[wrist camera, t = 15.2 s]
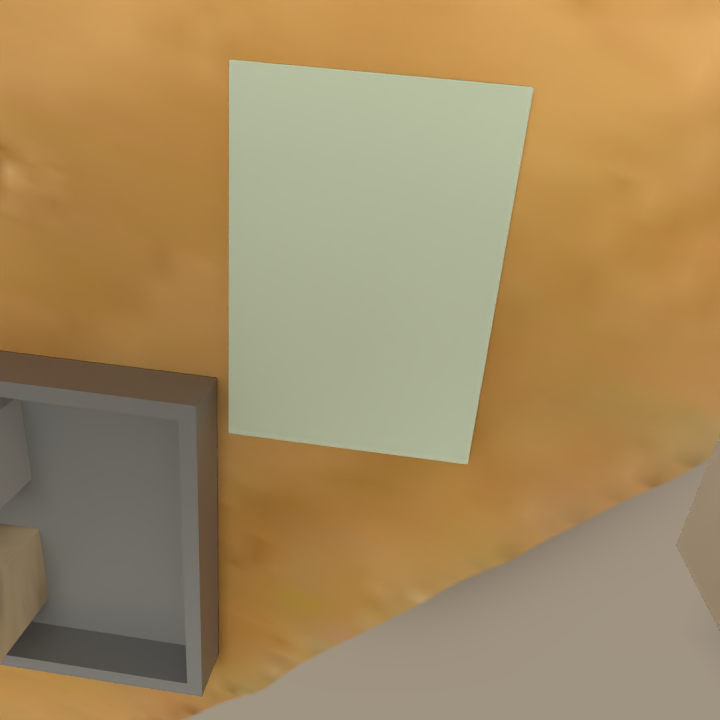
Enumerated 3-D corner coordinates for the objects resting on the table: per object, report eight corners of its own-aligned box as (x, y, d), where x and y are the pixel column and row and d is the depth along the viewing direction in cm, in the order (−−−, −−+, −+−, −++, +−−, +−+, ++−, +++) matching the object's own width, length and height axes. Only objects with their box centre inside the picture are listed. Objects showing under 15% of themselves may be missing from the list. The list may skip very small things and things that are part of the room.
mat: (233, 424, 39) (228, 433, 38) (235, 59, 31) (229, 59, 30) (467, 455, 38) (467, 464, 38) (530, 86, 30) (533, 87, 29)
